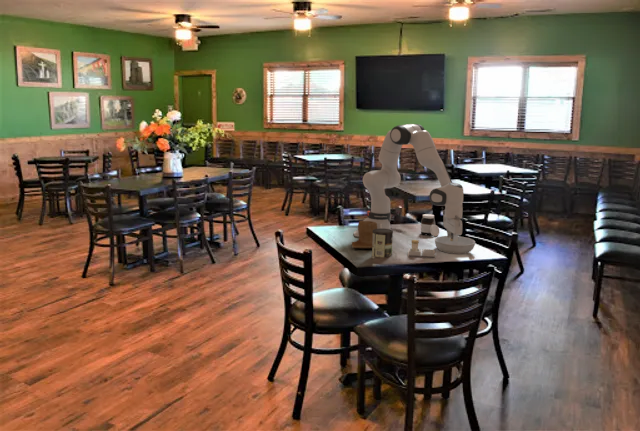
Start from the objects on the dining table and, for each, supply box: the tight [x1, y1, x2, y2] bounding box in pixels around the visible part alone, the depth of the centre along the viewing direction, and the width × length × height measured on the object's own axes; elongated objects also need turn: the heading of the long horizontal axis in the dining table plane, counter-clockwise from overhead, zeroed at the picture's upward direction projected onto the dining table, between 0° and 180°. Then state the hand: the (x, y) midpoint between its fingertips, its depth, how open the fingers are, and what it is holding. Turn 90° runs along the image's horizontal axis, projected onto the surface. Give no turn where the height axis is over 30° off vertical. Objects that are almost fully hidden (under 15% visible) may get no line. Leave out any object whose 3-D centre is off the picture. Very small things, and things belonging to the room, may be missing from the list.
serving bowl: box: [434, 235, 476, 255], centre depth 298 cm, size 21×21×7 cm
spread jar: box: [420, 213, 440, 237], centre depth 338 cm, size 12×11×12 cm
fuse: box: [411, 239, 420, 251], centre depth 286 cm, size 4×4×8 cm
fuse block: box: [407, 247, 437, 260], centre depth 287 cm, size 14×10×4 cm
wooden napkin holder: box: [351, 220, 377, 249], centre depth 304 cm, size 15×12×15 cm
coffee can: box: [371, 228, 394, 259], centre depth 285 cm, size 10×10×14 cm
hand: (451, 239), depth 297 cm, fingers open, 7 cm apart
